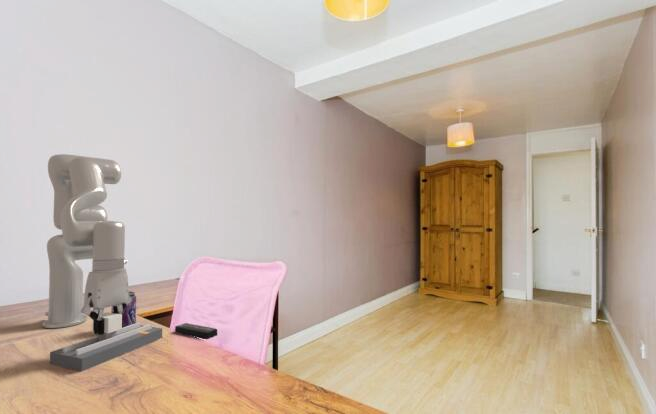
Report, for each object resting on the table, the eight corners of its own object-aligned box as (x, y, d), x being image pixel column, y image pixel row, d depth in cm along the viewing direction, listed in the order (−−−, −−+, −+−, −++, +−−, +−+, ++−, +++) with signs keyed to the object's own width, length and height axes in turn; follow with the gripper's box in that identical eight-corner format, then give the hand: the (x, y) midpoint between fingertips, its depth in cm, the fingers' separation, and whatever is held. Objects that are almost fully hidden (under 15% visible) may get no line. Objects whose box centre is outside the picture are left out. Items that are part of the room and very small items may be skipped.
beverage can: (124, 333, 108) (124, 296, 108) (105, 332, 109) (106, 295, 110) (140, 326, 115) (141, 291, 115) (123, 325, 116) (123, 290, 117)
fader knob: (92, 341, 93) (93, 316, 93) (106, 336, 96) (106, 312, 97) (107, 344, 90) (108, 318, 91) (121, 339, 94) (122, 314, 94)
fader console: (49, 364, 85) (50, 347, 85) (133, 333, 108) (133, 320, 108) (81, 371, 81) (82, 353, 81) (162, 338, 104) (162, 324, 104)
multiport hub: (207, 340, 103) (207, 332, 103) (174, 333, 109) (174, 326, 109) (217, 336, 107) (217, 328, 107) (185, 329, 113) (185, 322, 113)
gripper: (126, 261, 103) (125, 321, 103) (67, 268, 88) (65, 339, 87) (144, 262, 101) (143, 323, 100) (87, 270, 85) (85, 343, 84)
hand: (107, 330), depth 93 cm, fingers closed on fader knob, 4 cm apart
